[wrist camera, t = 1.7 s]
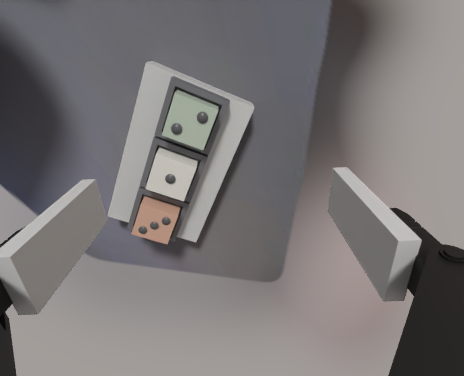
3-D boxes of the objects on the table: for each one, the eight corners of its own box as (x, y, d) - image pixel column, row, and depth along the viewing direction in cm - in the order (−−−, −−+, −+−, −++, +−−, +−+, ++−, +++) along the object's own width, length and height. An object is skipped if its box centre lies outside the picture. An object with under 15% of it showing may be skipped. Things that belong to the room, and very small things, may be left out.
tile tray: (115, 204, 39) (102, 223, 34) (152, 60, 31) (142, 63, 26) (197, 229, 41) (195, 250, 37) (251, 102, 33) (256, 110, 29)
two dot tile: (165, 130, 30) (161, 135, 28) (177, 89, 28) (174, 92, 26) (204, 144, 31) (203, 150, 29) (218, 106, 29) (218, 110, 27)
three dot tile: (136, 224, 35) (131, 234, 33) (144, 196, 33) (140, 205, 31) (169, 234, 36) (167, 245, 34) (180, 207, 34) (178, 216, 32)
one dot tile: (149, 181, 32) (145, 189, 30) (159, 147, 31) (155, 154, 29) (185, 193, 33) (183, 202, 31) (197, 161, 31) (196, 168, 30)
